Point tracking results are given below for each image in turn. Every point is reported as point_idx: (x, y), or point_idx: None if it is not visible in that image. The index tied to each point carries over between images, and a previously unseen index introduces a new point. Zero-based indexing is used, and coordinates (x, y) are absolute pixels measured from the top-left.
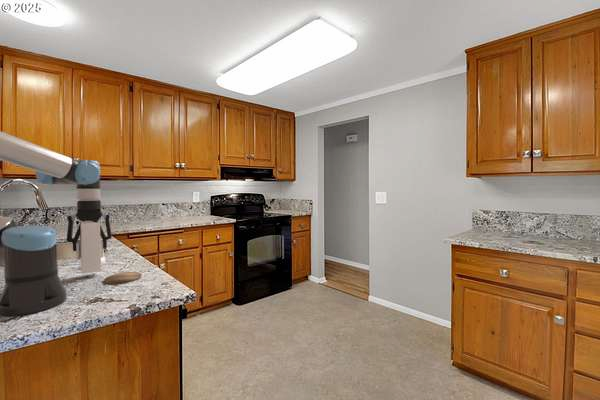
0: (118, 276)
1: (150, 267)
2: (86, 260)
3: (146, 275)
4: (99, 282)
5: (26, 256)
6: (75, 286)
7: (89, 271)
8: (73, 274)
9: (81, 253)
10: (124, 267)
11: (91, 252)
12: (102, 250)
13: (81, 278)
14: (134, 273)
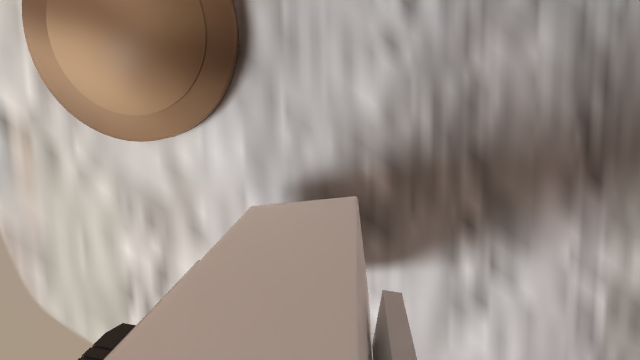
0: (153, 52)
1: (5, 207)
2: (324, 233)
3: (7, 24)
4: (266, 42)
5: None
6: (394, 40)
7: (316, 202)
8: None
9: (364, 311)
10: (148, 304)
11: (266, 273)
12: (162, 299)
13: (363, 211)
14: (63, 63)
